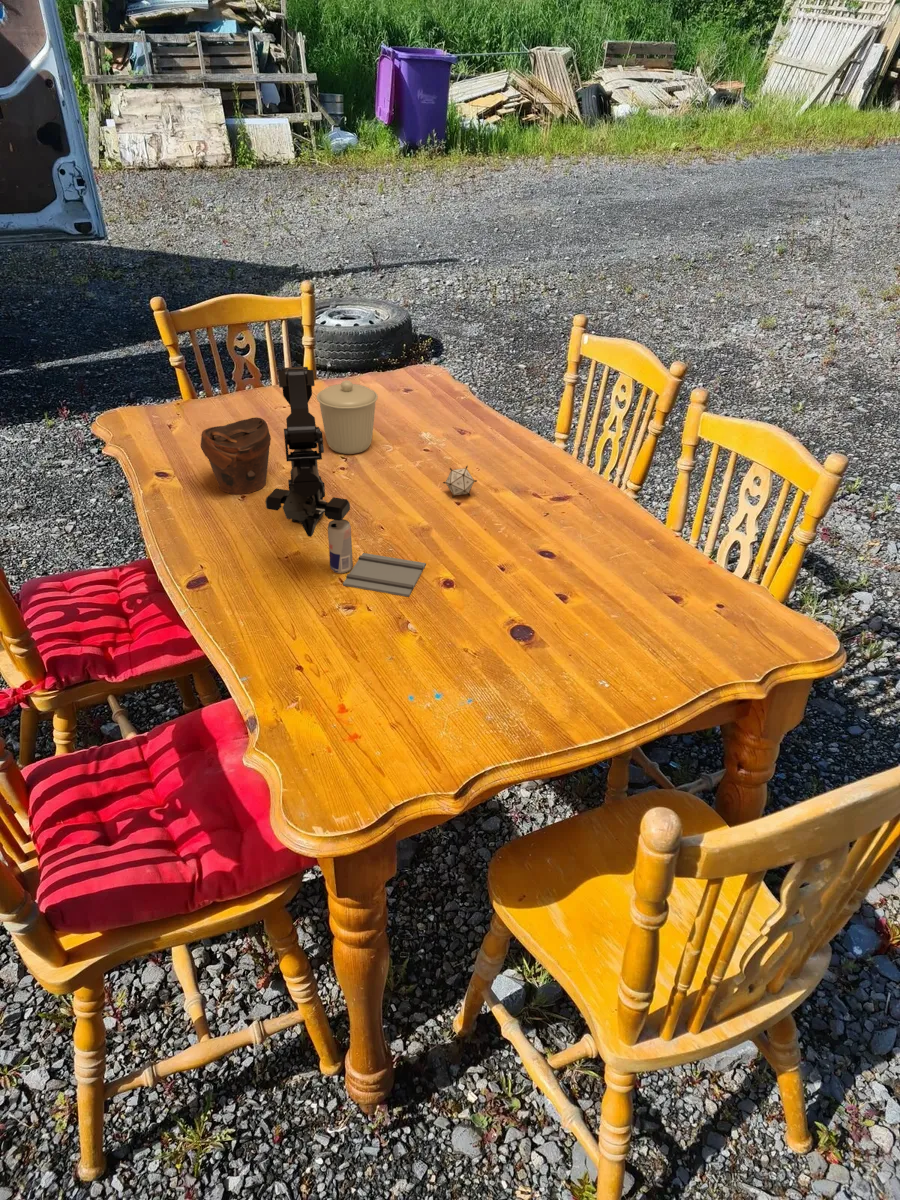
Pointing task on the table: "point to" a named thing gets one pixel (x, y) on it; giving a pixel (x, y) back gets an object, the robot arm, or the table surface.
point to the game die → (460, 481)
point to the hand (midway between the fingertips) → (310, 535)
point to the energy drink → (340, 546)
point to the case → (238, 454)
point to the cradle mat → (384, 574)
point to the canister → (348, 416)
